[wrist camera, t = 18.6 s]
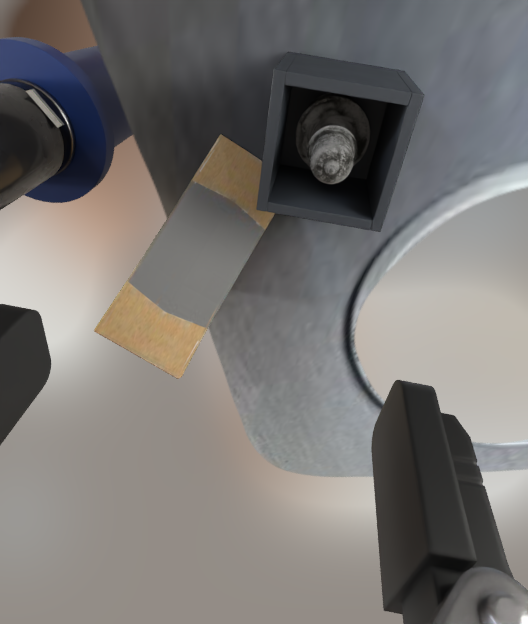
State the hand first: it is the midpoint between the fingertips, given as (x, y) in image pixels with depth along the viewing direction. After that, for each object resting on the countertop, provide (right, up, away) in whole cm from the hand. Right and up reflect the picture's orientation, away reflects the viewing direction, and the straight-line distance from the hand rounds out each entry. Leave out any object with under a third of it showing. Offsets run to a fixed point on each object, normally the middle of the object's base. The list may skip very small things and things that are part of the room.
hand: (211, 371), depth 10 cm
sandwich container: (-3, +11, +35) cm, 37 cm away
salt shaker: (+7, +17, +28) cm, 33 cm away
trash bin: (+7, +18, +28) cm, 34 cm away
